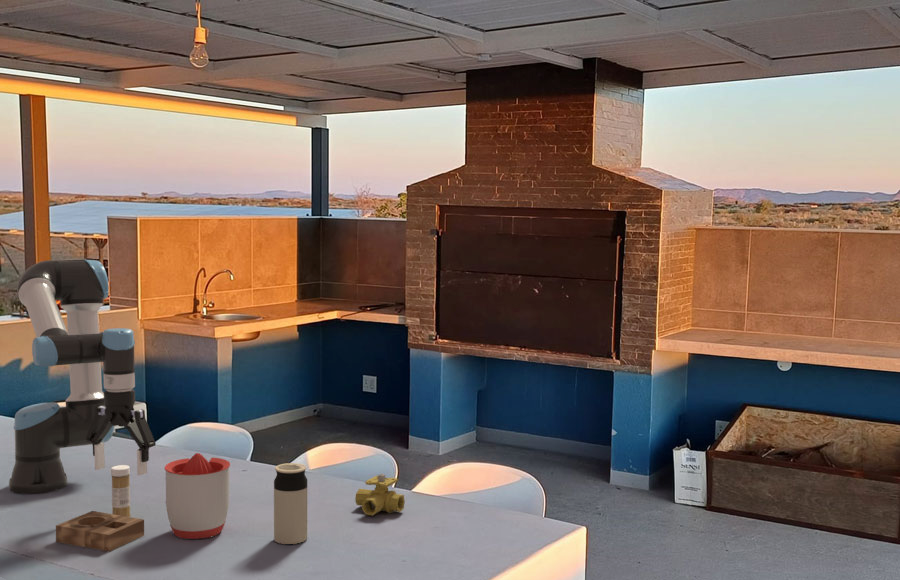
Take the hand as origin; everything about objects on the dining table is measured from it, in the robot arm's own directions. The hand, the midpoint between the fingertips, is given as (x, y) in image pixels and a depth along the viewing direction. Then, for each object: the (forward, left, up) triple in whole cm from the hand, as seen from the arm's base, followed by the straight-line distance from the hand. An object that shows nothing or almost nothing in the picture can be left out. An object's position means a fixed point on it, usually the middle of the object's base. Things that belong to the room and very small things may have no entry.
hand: (120, 471), depth 239 cm
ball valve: (+57, +32, -13) cm, 67 cm away
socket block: (+6, -14, -12) cm, 19 cm away
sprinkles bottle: (0, 0, -13) cm, 13 cm away
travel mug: (+48, +4, -13) cm, 49 cm away
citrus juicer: (+24, 0, -13) cm, 27 cm away
